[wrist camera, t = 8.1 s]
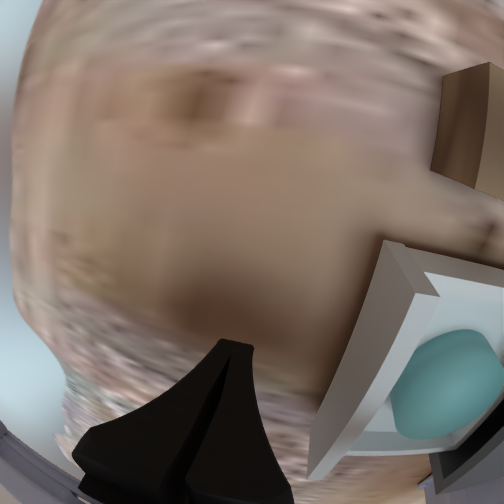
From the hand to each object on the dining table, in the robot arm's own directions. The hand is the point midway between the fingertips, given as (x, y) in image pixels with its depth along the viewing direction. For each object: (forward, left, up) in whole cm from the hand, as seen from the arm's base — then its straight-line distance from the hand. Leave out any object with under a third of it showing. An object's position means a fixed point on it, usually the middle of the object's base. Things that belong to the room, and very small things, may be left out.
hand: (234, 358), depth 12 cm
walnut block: (+11, -8, -2) cm, 14 cm away
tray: (0, -10, -1) cm, 10 cm away
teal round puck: (0, -10, -1) cm, 10 cm away
